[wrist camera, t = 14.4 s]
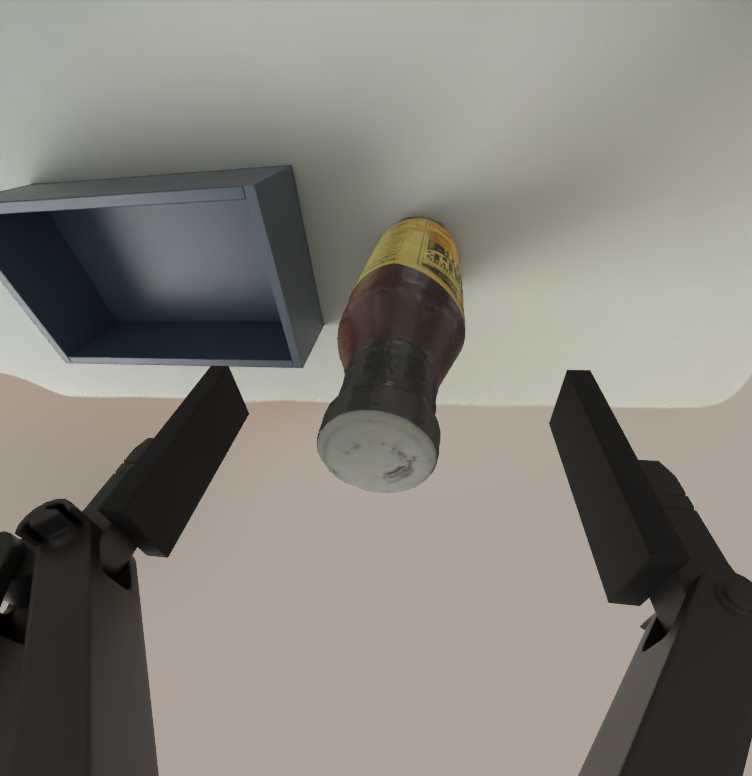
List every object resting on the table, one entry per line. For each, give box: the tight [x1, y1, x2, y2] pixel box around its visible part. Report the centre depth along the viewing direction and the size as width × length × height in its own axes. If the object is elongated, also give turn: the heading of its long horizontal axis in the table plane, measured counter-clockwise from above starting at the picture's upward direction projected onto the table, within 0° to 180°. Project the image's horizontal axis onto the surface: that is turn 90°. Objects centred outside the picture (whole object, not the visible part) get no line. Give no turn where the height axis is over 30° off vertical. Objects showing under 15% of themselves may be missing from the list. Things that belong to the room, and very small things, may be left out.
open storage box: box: [0, 165, 324, 368], centre depth 27 cm, size 21×12×6 cm, turn 94°
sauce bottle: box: [317, 217, 465, 493], centre depth 19 cm, size 6×6×20 cm
